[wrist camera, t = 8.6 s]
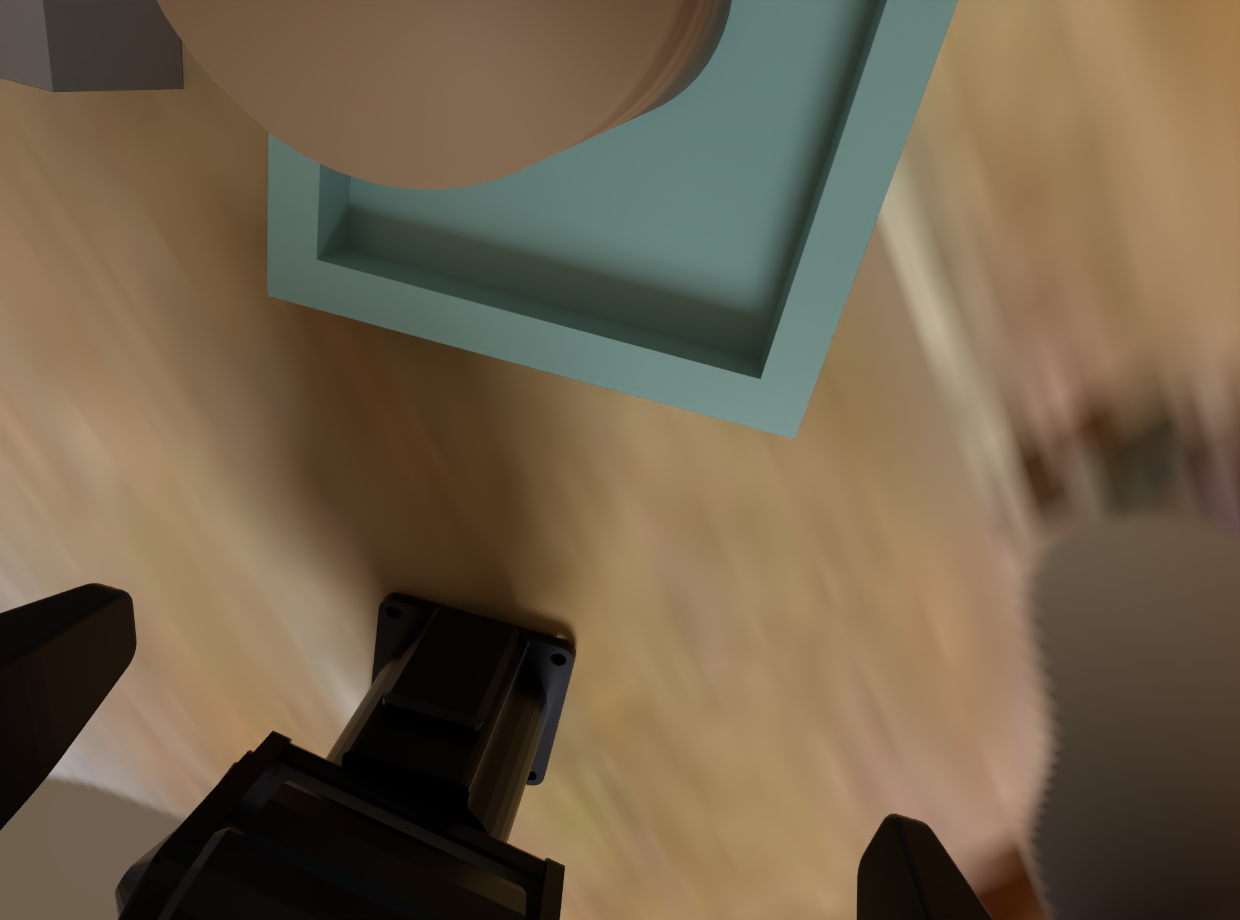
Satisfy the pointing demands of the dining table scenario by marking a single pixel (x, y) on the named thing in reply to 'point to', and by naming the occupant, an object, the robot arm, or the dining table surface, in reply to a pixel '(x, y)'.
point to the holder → (89, 45)
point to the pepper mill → (446, 76)
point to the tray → (647, 222)
